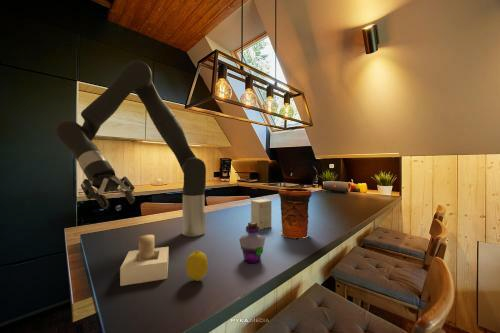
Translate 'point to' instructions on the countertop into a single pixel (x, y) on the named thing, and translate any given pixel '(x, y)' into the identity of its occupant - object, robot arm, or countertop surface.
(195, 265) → the lemon
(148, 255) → the peg
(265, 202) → the small box
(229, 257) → the countertop surface
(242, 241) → the potion bottle
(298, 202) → the vessel
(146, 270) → the socket
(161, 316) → the countertop surface
